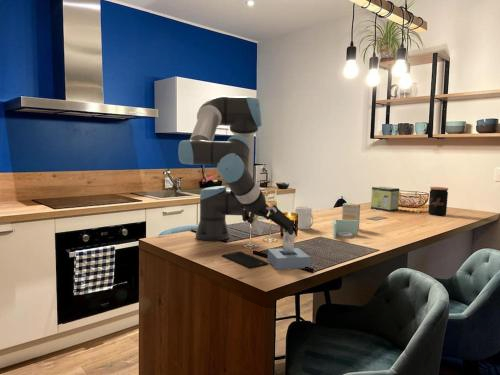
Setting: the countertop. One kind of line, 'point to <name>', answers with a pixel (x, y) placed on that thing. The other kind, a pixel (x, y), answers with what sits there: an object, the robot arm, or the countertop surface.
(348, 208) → the supplement box
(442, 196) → the coffee jar
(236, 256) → the cell phone
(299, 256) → the block
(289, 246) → the shaft
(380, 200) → the protein box
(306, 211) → the mug
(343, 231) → the right angle wall
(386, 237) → the countertop surface
